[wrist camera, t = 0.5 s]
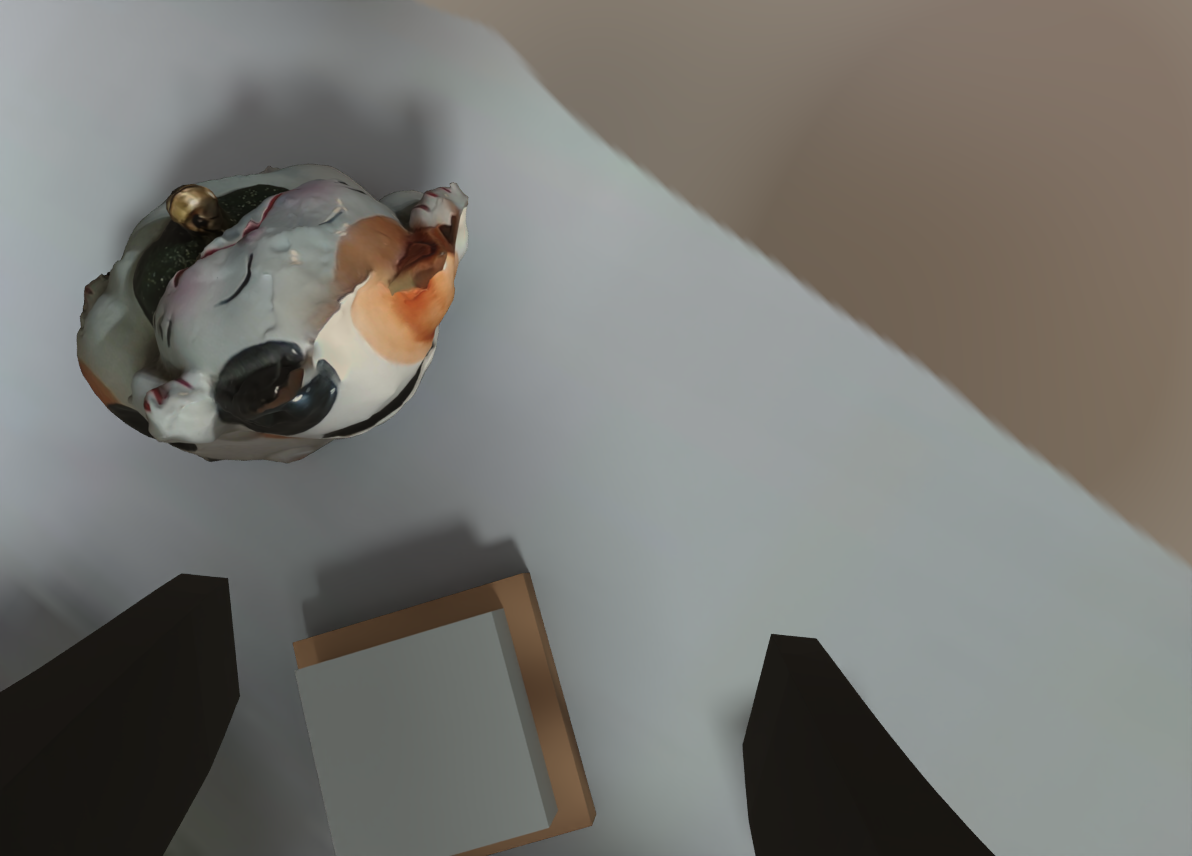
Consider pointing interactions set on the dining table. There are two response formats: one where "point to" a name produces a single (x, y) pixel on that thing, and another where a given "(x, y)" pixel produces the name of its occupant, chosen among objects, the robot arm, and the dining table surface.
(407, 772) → the slate top slab
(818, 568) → the dining table surface
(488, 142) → the dining table surface
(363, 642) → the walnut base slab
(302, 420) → the lucky cat figurine
